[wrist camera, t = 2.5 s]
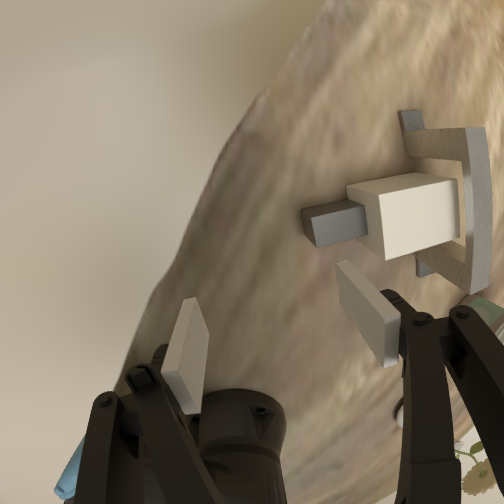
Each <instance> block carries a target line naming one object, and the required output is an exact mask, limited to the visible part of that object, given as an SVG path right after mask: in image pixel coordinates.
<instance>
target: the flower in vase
mask: <svg viewBox="0 0 504 504" xmlns="http://www.w3.org/2000/svg"><path fill="white" fill-rule="evenodd" d="M396 422H397V425H398V426H400V427H401V428H403V405H402V406H401V408H400V410H399V411H398V414H397V419H396ZM463 444H464V443H463V442H462V441H457V440H455V439H454V449H455V453H460V454H464V455H468V456H470V457H472V458H473V459H474V461H475V462H476V465H475V466H473V467H472V470H470V471H469V472H468V473H467V475H466V476H465V477H464V478H463V480H462V481H464V482H463V483H462V485H463V487H462V490H464V492H466V493H468V494H469V495H472V494H473V496H476V495H477V494H478V493H480V492H481V493H485V492H486V491H487V490H488V489H492V488H494V485H495V484H497V482H496V479H495V476H494V473H493V471H492V468H491V465H490V462H489V460H488V458H487V459H486V460H485V461H484V462H479V463H478V462H477V460H476V459H475V457H474V456H473V455H471V454H475V453H477V452H480V451H481V450H483V448H484V447H483V444H482V442H481V441H479V442H478V443H476V444H474V445H473V446H472V447H471V449H470V454H468V453H465V452H461V451H459V450H460V449H461V447H462V446H463ZM456 458H457V459H459V454H458V455H457V456H456Z"/></svg>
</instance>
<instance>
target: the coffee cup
mask: <svg viewBox="0 0 504 504" xmlns="http://www.w3.org/2000/svg"><path fill="white" fill-rule="evenodd" d="M459 305H466V306H469V307H471V308H473V309H474V310H475V311H476V312H477V313H478V315H479V316H480V317H481V318H482V319H483V320H484V322H485V323H486V324H487V325H488V326H489V328H490V329H491V330H492V331H493V332H494V334H495V335H496V336H497V337H498V339H499V340H500V341H501V342H502V344H503V345H504V308H502V307H500V306H498V305H496V304H494V303H492V302H490V301H488V300H486V299H484V298H482V297H480V296H478V295H476V294H472V295H468V296H467V297H465V298H464V299H463V300H462V301H461V303H460V304H459Z"/></svg>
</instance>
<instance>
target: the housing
mask: <svg viewBox="0 0 504 504" xmlns="http://www.w3.org/2000/svg"><path fill="white" fill-rule="evenodd" d="M398 115H399V120H400V124H401V129H402V134H403V139H404V145H405V150H406V156H407V157H418V158H432V159H444V160H455V161H462V170H463V180H464V193H465V213H466V247H464V246H462V245H460V244H458V243H456V242H453V241H451V240H450V241H447V242H444V243H441V244H437V245H434V246H431V247H428V248H425V249H422V250H418V251H416V276H418V277H419V278H421V277H424V276H427V275H429V274H432V273H435V272H437V273H438V274H440V275H441V276H443V277H444V278H446V279H447V280H449V281H450V282H451V283H453V284H454V285H456V286H457V287H459V288H460V289H462V290H463V291H464V292H466V293H467V294H469V295H472V294H474V293H476V292H478V291H480V290H482V289H484V288H486V287H488V284H489V275H490V264H491V250H492V185H491V171H490V161H489V152H488V144H487V137H486V131H485V127H468V128H444V129H428V130H425V128H424V123H423V118H422V113H421V110H416V111H401V112H398Z"/></svg>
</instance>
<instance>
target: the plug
mask: <svg viewBox="0 0 504 504" xmlns="http://www.w3.org/2000/svg"><path fill="white" fill-rule="evenodd" d="M346 190H347V196H348V199H345V200H341V201H336V202H332V203H327V204H323V205H318V206H314V207H310V208H305V209H301V213H302V218H303V223H304V228H305V233H306V237H307V238H308V239H309V240H310V241H311V242H312V243H313V244H314V246H315V247H316V248H319V247H323V246H327V245H331V244H335V243H339V242H343V241H347V240H350V239H354V238H355V239H357V240H358V241H360V242H361V243H362V244H364V245H365V246H367V247H368V248H369V249H371V250H372V251H373V252H375V253H376V254H378V255H379V256H380V257H382V258H383V259H384V260H389V259H392V258H395V257H399V256H402V255H405V254H409V253H412V252H415V251H418V250H422V249H425V248H428V247H431V246H434V245H437V244H441V243H444V242H447V241H450V240H453V239H456V238H459V237H460V216H459V197H458V184H457V179H454V178H448V177H442V176H436V175H430V174H423V173H416V172H414V173H408V174H403V175H397V176H392V177H387V178H381V179H376V180H371V181H366V182H361V183H356V184H351V185H346Z"/></svg>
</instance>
